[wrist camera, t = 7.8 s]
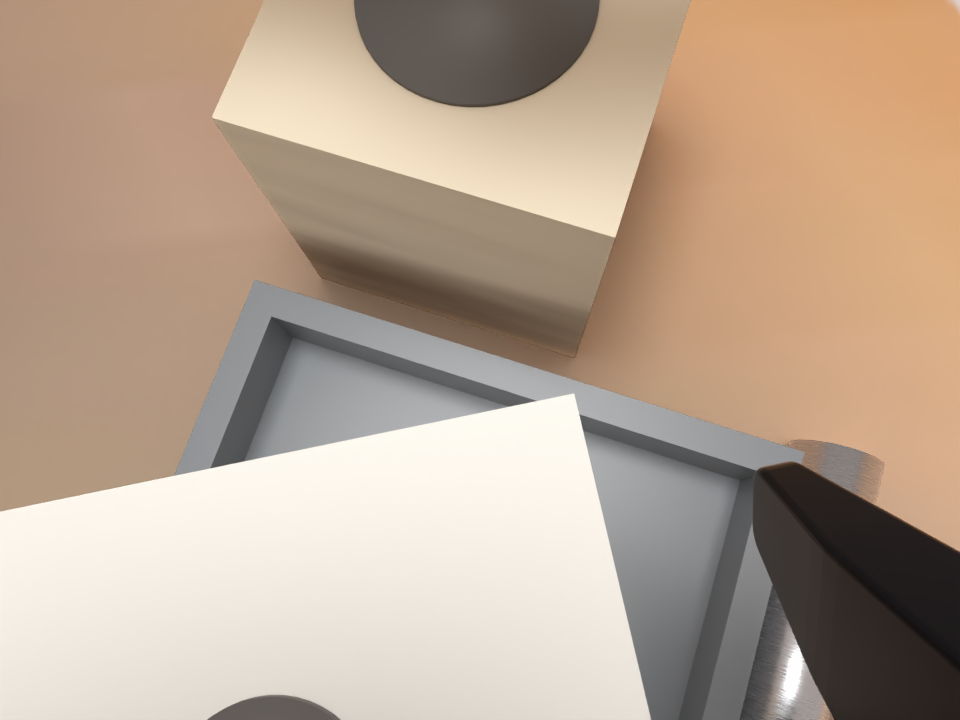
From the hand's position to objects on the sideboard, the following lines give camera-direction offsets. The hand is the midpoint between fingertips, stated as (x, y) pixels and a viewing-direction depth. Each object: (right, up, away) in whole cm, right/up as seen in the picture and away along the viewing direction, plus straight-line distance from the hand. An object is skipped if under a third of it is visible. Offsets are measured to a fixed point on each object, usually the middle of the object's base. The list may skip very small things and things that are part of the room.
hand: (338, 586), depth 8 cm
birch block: (+2, +6, +10) cm, 12 cm away
